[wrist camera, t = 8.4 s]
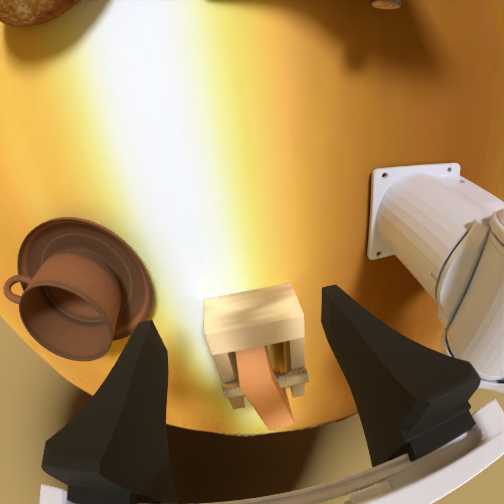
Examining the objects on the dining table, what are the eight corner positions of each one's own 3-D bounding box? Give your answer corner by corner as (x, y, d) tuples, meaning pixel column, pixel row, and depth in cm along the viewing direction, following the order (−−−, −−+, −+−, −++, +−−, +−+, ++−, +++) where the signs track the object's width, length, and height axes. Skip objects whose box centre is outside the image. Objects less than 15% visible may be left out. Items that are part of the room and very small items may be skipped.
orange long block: (259, 325, 26) (271, 378, 20) (281, 376, 29) (294, 423, 24) (233, 333, 26) (240, 387, 20) (260, 383, 29) (269, 430, 24)
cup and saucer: (53, 325, 24) (34, 373, 19) (11, 215, 18) (-30, 256, 13) (165, 326, 26) (160, 381, 21) (143, 200, 20) (122, 245, 15)
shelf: (291, 282, 25) (309, 328, 20) (295, 365, 31) (307, 405, 27) (203, 299, 25) (205, 348, 20) (229, 378, 31) (234, 420, 27)
